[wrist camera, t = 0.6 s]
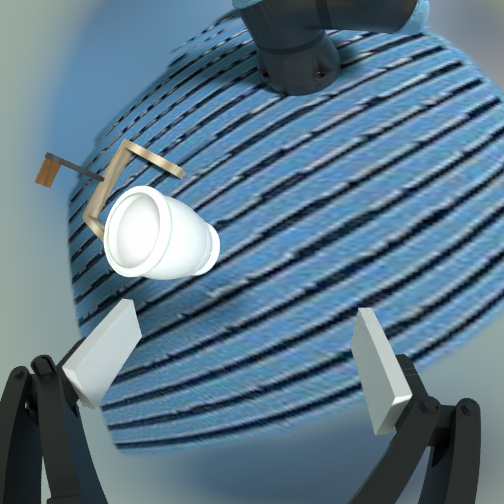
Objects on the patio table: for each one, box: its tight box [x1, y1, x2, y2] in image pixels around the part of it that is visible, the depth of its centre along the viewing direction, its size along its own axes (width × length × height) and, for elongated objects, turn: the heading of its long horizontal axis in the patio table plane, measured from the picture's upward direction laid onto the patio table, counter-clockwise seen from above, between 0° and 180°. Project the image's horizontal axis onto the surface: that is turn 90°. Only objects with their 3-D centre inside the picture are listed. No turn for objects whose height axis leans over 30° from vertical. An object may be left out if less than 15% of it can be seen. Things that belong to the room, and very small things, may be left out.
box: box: [35, 139, 186, 243], centre depth 41 cm, size 18×19×18 cm
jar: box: [104, 186, 220, 280], centre depth 36 cm, size 11×10×15 cm
